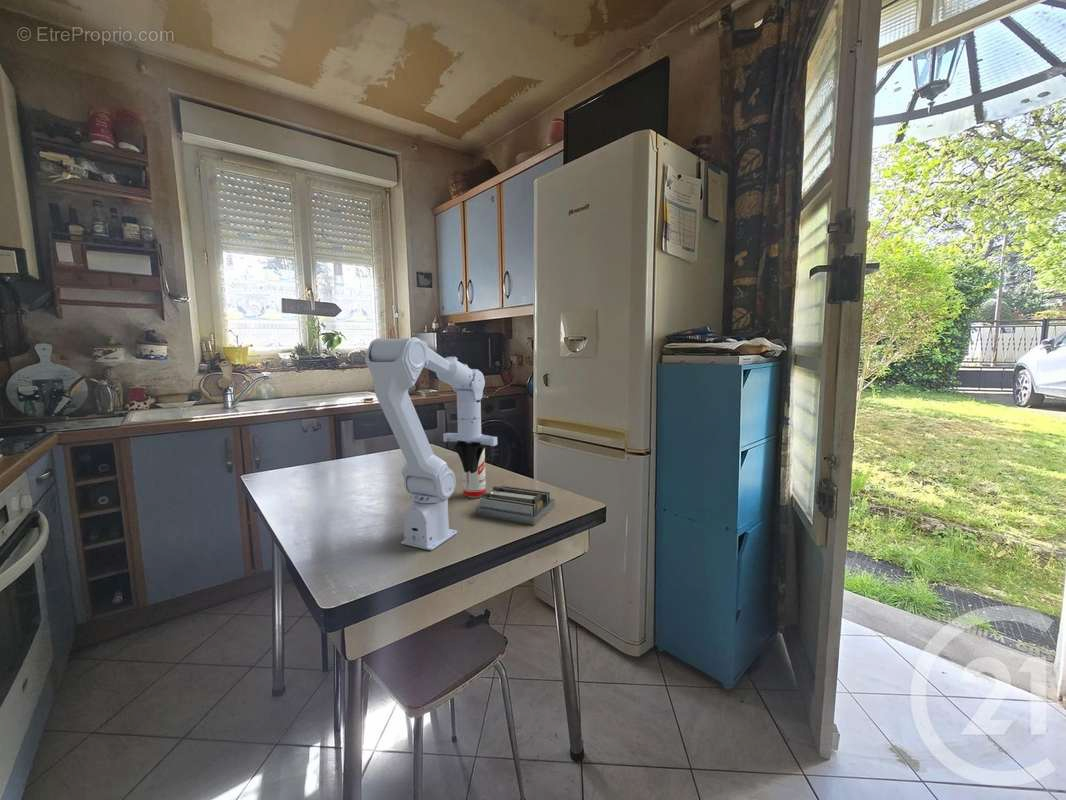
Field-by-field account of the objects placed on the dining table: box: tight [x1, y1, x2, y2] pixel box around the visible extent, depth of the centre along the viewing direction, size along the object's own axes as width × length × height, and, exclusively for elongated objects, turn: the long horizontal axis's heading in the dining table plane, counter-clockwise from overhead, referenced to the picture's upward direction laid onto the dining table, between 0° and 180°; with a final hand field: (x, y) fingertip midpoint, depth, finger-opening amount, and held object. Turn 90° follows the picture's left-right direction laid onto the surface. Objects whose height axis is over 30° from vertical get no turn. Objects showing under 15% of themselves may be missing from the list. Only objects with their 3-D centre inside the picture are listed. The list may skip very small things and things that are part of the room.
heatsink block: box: [474, 485, 556, 526], centre depth 108 cm, size 13×16×4 cm
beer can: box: [462, 447, 487, 499], centre depth 119 cm, size 6×6×16 cm
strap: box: [489, 490, 536, 502], centre depth 108 cm, size 4×12×1 cm, turn 66°
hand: (470, 471), depth 107 cm, fingers closed
